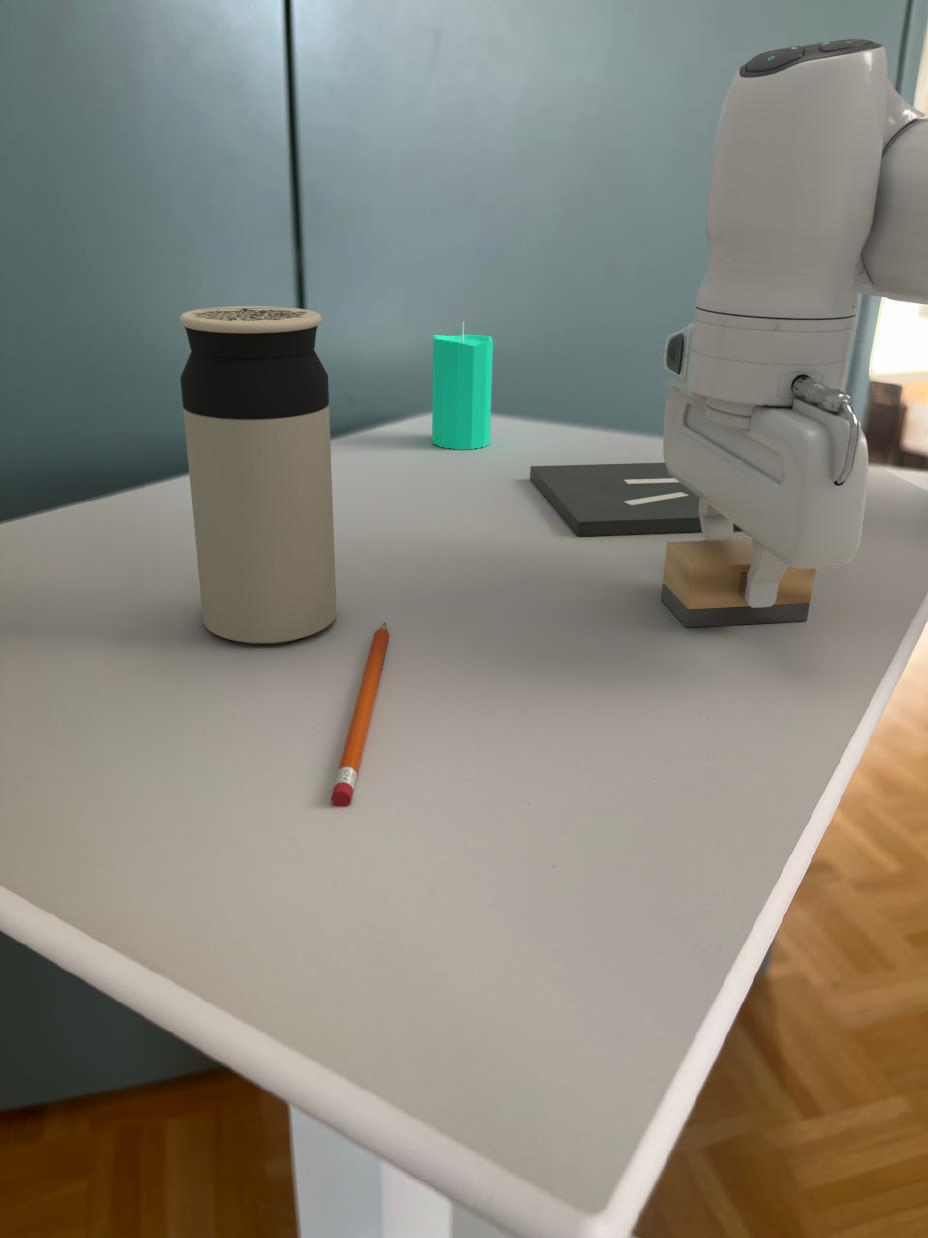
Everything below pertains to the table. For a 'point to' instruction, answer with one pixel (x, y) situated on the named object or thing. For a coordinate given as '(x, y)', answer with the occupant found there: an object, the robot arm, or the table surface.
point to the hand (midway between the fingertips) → (735, 584)
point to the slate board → (619, 498)
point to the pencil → (360, 721)
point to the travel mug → (260, 472)
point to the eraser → (726, 585)
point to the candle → (462, 390)
